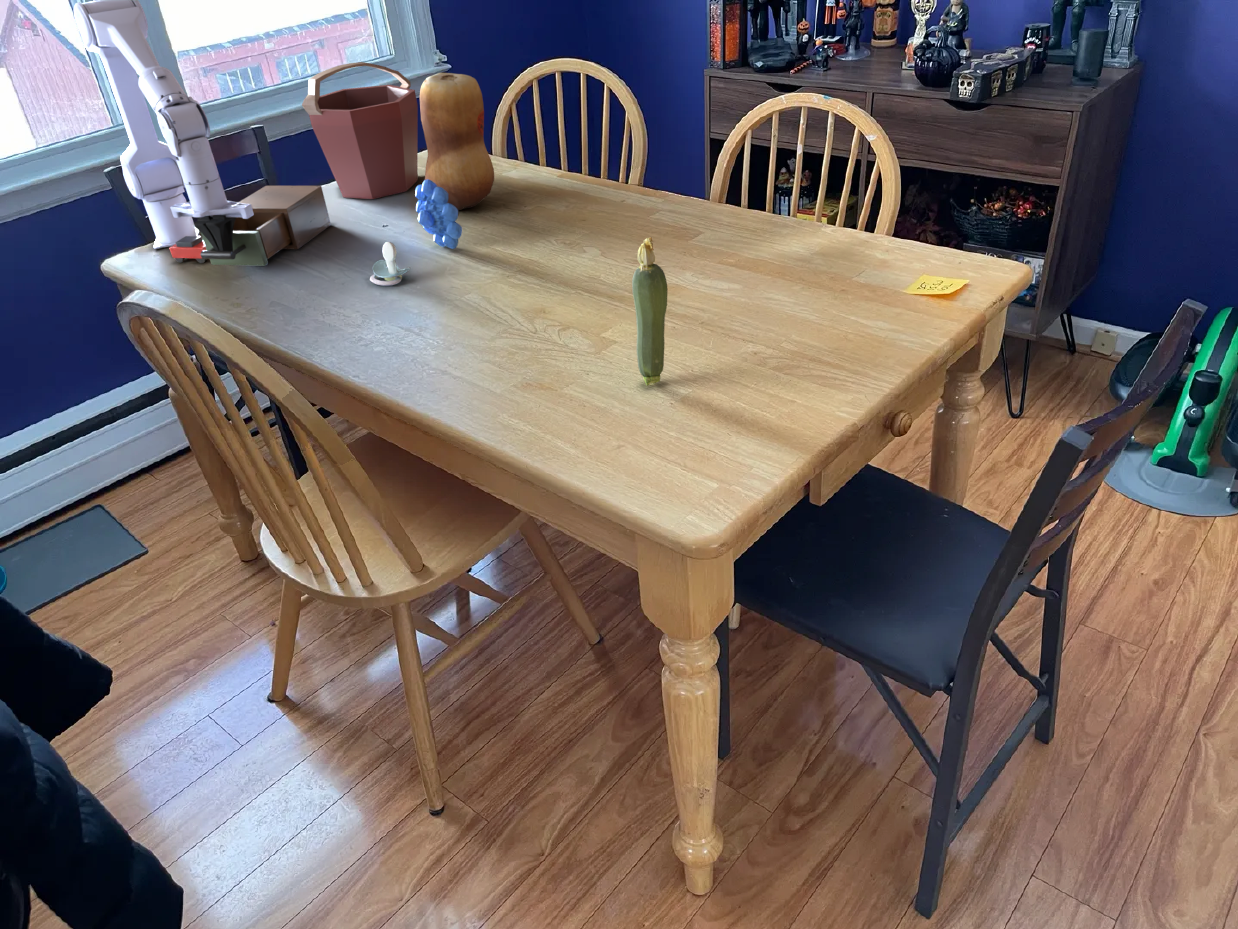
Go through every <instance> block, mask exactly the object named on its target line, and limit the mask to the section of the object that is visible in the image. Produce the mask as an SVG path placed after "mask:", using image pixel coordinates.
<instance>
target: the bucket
mask: <svg viewBox="0 0 1238 929" xmlns="http://www.w3.org/2000/svg"><path fill="white" fill-rule="evenodd" d="M359 67H360V68H361V67H370V68H374V69H377V70H380V71H382V72H384V73H385V72H386V73H389V74H390V75H392V76H393V77H394V78H395V79H397V80H398V81H399V82H400V83H401V85H400V86H398V85H393V84H384V85H372V86H370V85H369V86H362V87H361V86H360V87H349V88H341V89H339V90H335V91H332V92H329V93H325V94H321V82H322V81H324V80H326V79H328V78H329V77H331V76H333V75H335V74H337V73H340V72H342V71H345V70H348V69H352V68H359ZM411 86H412V85H411V81H410V80H409V79H408V78H407V77H406V76H405V75H404V74H402V73H401V71H398V70H396V69H392V68H389V67H387V66H384V65H380V64H375V63H369V62H364V61H358V62H357V61H356V62H348V63H344V64H339V65H336V66H333V67H331V68H328V69H325V70H323V71H321V72H318V73H316V74H315V75H313V76H312V77H310V78H308V84H307V87H308V88H307V95H306V96H305V98H304V99H303V101H302V104H301V106H302V108H303V109H304V111H305V112H306V113H307V114H308V117H309V121H310V124H311V128H312V130H313V132H314V135H315V137H316V139H317V141H318V143H319V145H320V149H321V150H322V153H323V155H324V157H325V159H326V162H327V164H328V166H329V168H330V172H331V173H332V175H333V177H334V180H335V182H336V184H337V186H338V189H339V191H340V193H341V196H342V198H347V199H362V200H375V199H379V198H384V197H388V196H392V195H396V194H402V193H405V192H407V191H408V190H409V189H411V188H412V187H413V186H414V185H415V183H417V181H418V177H419V176H418V170H419V169H418V166H419V165H418V162H419V161H418V159H419V158H418V149H419V148H418V140H419V139H418V136H419V134H418V133H419V132H418V131H419V130H418V126H419V125H418V122H419V121H418V116H419V115H418V114H419V113H418V110H419V109H418V108H419V107H418V105H419V104H418V98H417V95H416V90H415V89H411Z"/></svg>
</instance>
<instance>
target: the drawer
mask: <svg viewBox="0 0 1238 929" xmlns="http://www.w3.org/2000/svg"><path fill="white" fill-rule="evenodd" d="M200 234H201V235H200V236H201V237H202V240H203V241H204V244H205V247H206V250H207V251H201V257H202V258H203V259H207V260H209V261H210V264H211V265H212V266H251V267H252V266H254V267H259V266H260V267H265V266H267V265H268V264H269V261H268V260H269V259H270V258H271V257H273V256H274V255H276V254H277V253H279V252H280V251H281V250H284V249H283V248H284V247H285V246H287V245H288V244H289V243H291V242H292V240H291V236H290V232H289V229H288V225H287V222H286V218H285V215H284V213H254V215H253V216H251V217H250V218H248V219H243V218H242V217H236V219H235V223H234V228H233V237H232V244H233V251H215V249H214V248H213V246H212V245H211V243H210V242H209V241H208V239H207V238H206V237H205V236H204V235H203V234H202V233H201V232H200Z"/></svg>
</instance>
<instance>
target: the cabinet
mask: <svg viewBox="0 0 1238 929" xmlns="http://www.w3.org/2000/svg"><path fill="white" fill-rule="evenodd" d="M323 191H324V190H323V187H322V185H265V186H263V187H262V188H260V189H258V190H256V191H254V192H253V193H251V194H250V195H248V196H247V197H245V198H243V199H241V200H240V201H237V202H238V203H243V204H251V207H252V210H253V213H284V215H285V218H286V222H287V225H288V229H289V232H290V236H291V240H292V242H291V243H289V244H288V245H287V246H285V247H284V248H283V249H282V250H299V249H301V248H302V247H303V246H305V245H306V244H307V243H309V242H310V241H311V240H313V239H314V238H315V237H317V236H318V235H319V234H321V233H322V232H323V231H325V230H326V229H328V228H329V227H330V226H331V225H332V223H331V219H330V215H329V210H328V206H327V202H326V199H325V196H324V192H323Z"/></svg>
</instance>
